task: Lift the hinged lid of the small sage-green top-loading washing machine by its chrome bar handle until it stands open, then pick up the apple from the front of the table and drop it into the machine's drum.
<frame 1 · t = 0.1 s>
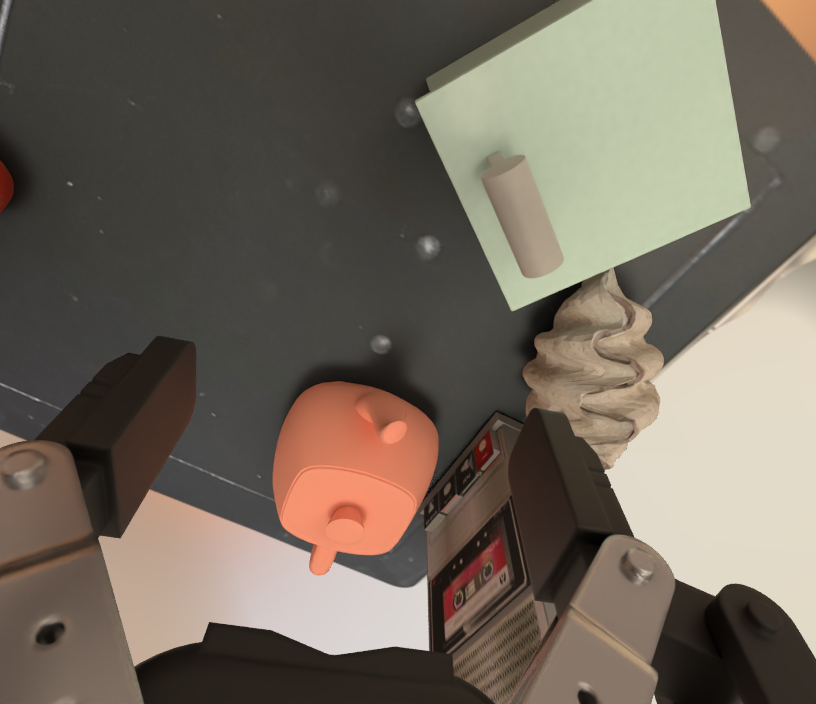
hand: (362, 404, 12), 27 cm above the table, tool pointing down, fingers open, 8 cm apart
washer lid: (603, 165, 23), point 13 cm above the table, hinge at 0.0°
teapot: (362, 418, 47), on the table
cassette tape recorder: (479, 468, 50), on the table
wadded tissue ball: (576, 340, 42), on the table
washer: (548, 122, 33), on the table
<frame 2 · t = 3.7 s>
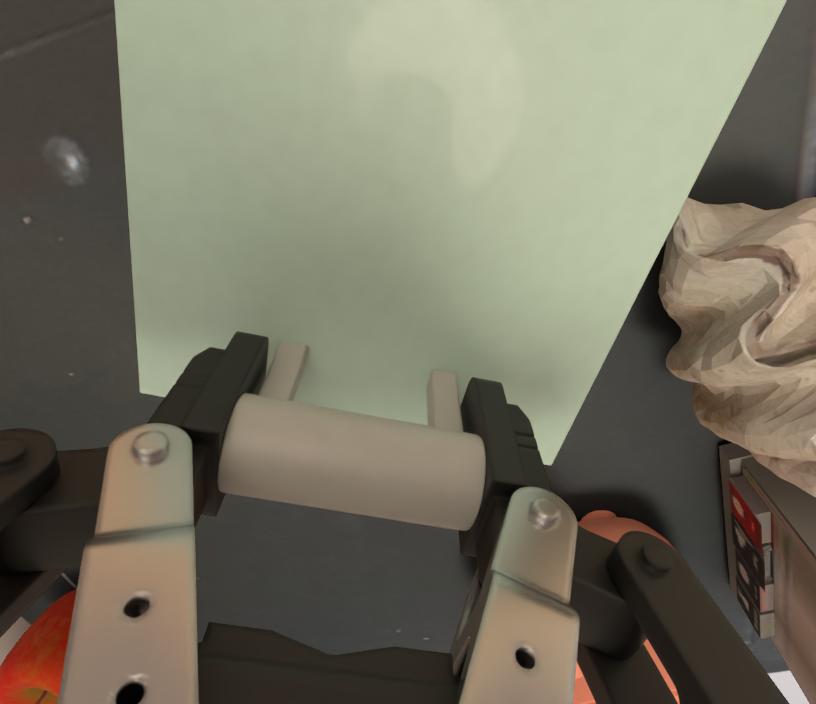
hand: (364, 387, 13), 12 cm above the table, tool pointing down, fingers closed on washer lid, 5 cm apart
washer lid: (399, 245, 10), point 13 cm above the table, hinge at -0.1°, touching gripper
teapot: (564, 553, 34), on the table
cassette tape recorder: (768, 507, 32), on the table
apple: (101, 593, 37), on the table
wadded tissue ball: (743, 291, 24), on the table
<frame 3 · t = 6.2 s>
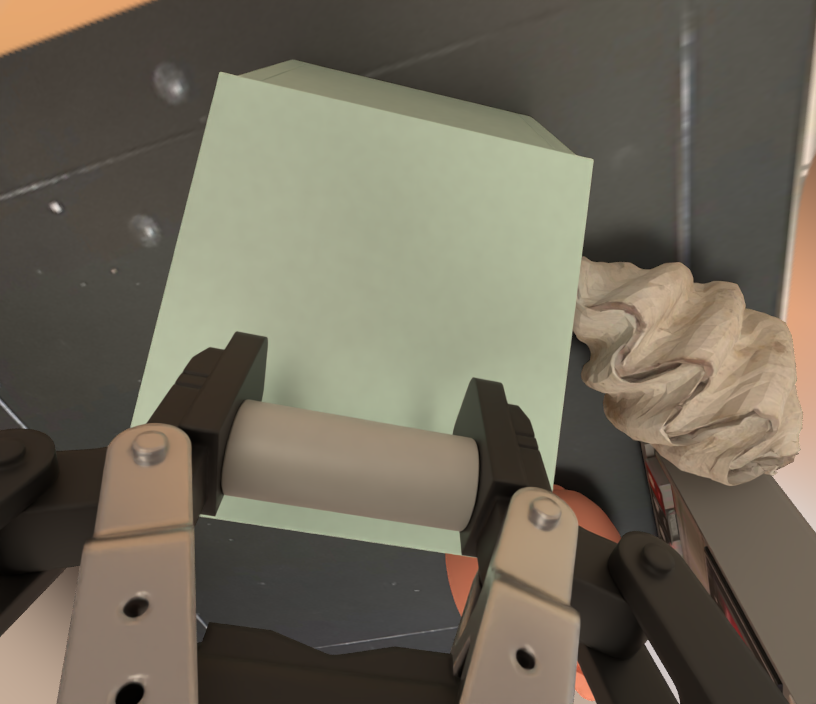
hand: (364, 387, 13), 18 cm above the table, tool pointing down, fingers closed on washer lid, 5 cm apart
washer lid: (382, 298, 13), point 16 cm above the table, hinge at 41.3°, touching gripper
teapot: (525, 519, 43), on the table
cassette tape recorder: (685, 482, 40), on the table
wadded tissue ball: (646, 318, 32), on the table
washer: (391, 207, 28), on the table
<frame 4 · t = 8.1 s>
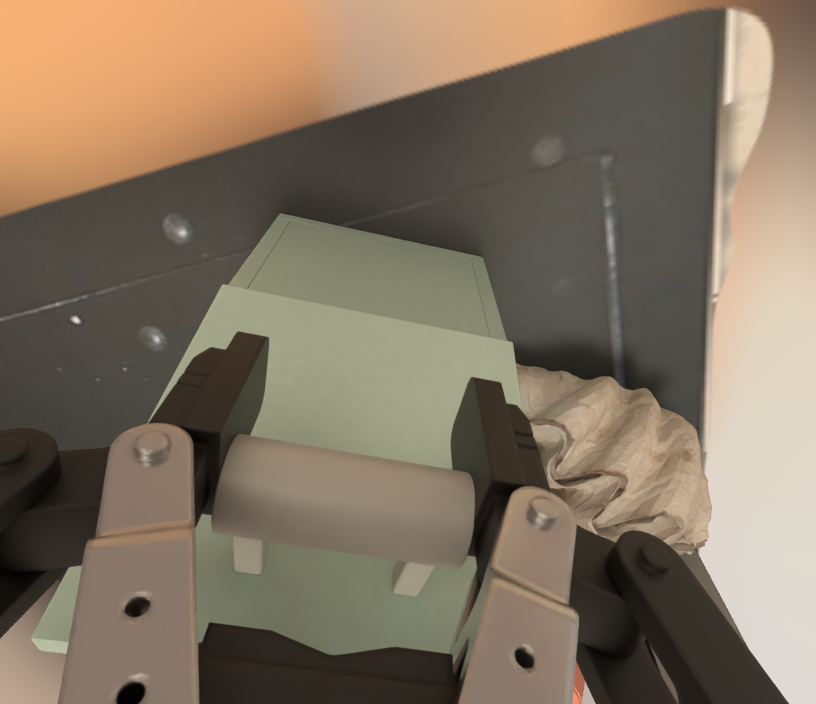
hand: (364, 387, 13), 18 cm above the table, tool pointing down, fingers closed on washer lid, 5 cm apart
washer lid: (359, 403, 15), point 17 cm above the table, hinge at 79.3°, touching gripper
teapot: (492, 570, 47), on the table
cassette tape recorder: (632, 539, 45), on the table
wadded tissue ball: (589, 408, 37), on the table
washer: (365, 323, 33), on the table
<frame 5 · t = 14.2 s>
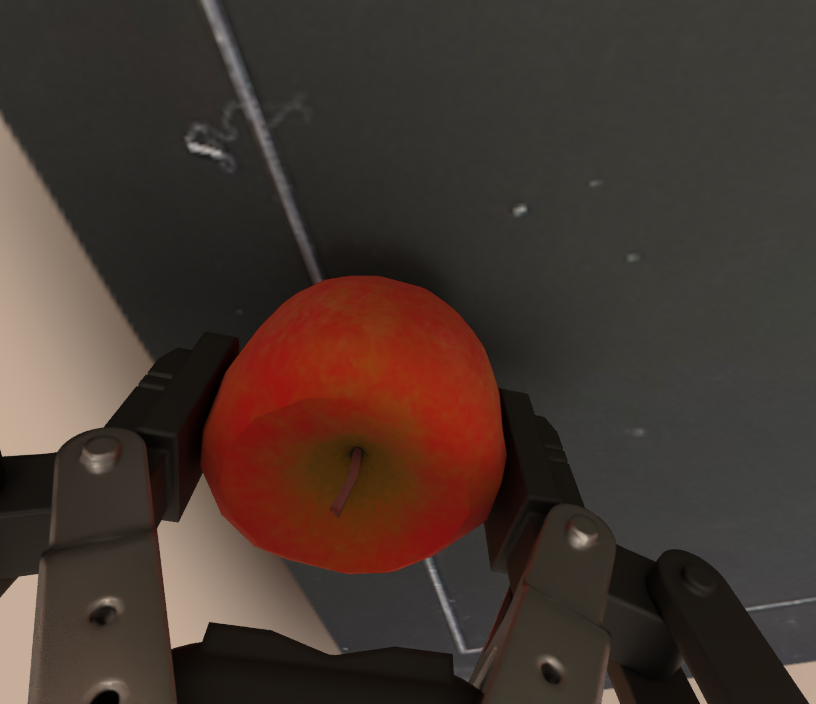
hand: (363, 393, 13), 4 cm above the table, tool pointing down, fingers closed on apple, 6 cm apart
apple: (374, 319, 16), on the table, touching gripper
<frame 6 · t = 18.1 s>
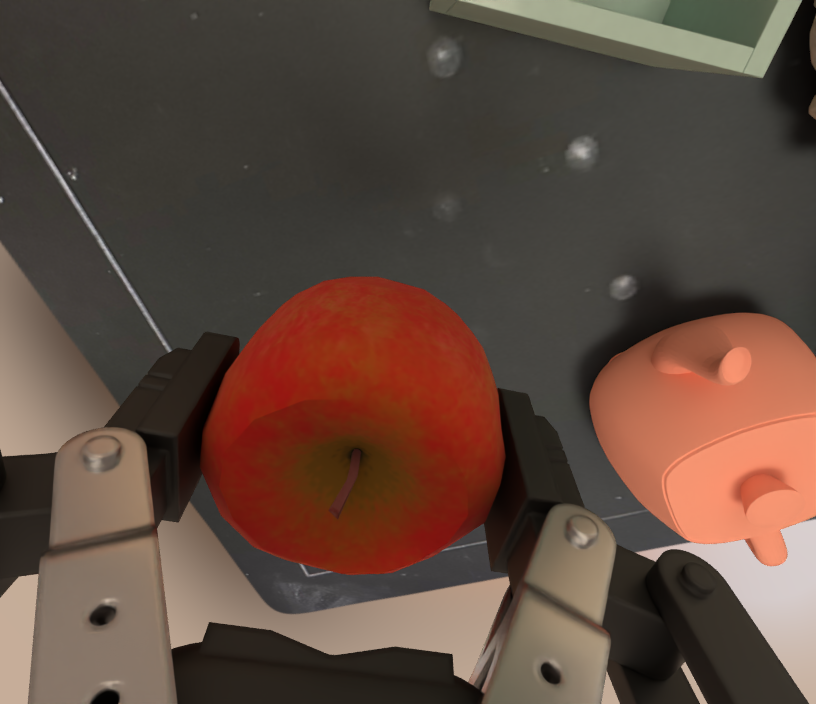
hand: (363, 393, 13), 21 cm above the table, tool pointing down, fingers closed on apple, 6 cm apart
teapot: (671, 370, 37), on the table
apple: (374, 320, 16), point 17 cm above the table, touching gripper
when the fingers open (11 cm above the table, at t = 22.3 s): apple drops 7 cm, resting on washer.
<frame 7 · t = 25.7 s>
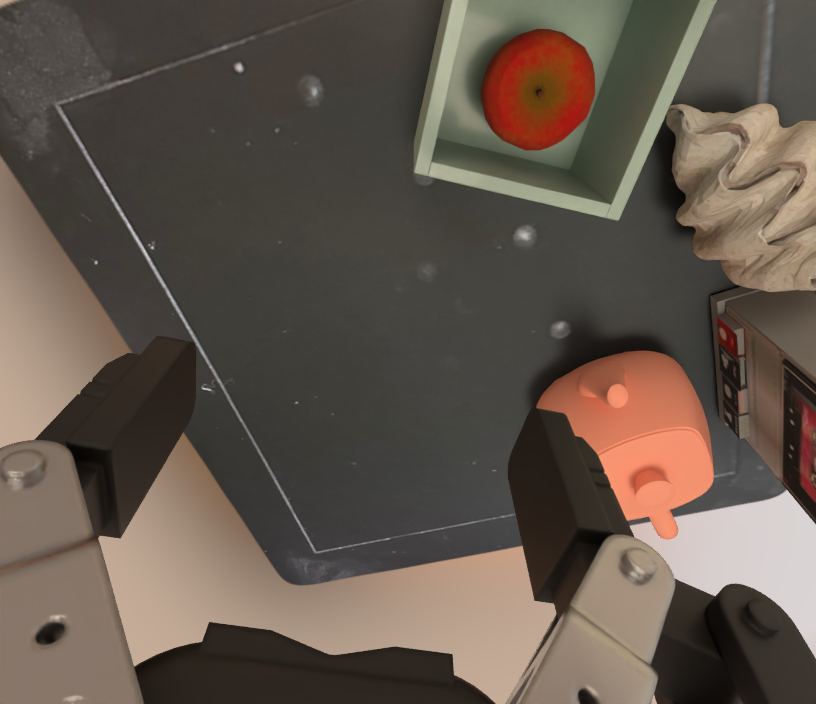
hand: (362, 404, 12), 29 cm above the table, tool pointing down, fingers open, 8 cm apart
teapot: (600, 390, 48), on the table
cassette tape recorder: (745, 349, 45), on the table
apple: (519, 84, 34), point 1 cm above the table, touching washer
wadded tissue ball: (724, 179, 38), on the table
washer: (522, 69, 34), on the table
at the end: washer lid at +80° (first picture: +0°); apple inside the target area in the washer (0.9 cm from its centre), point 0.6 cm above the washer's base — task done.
